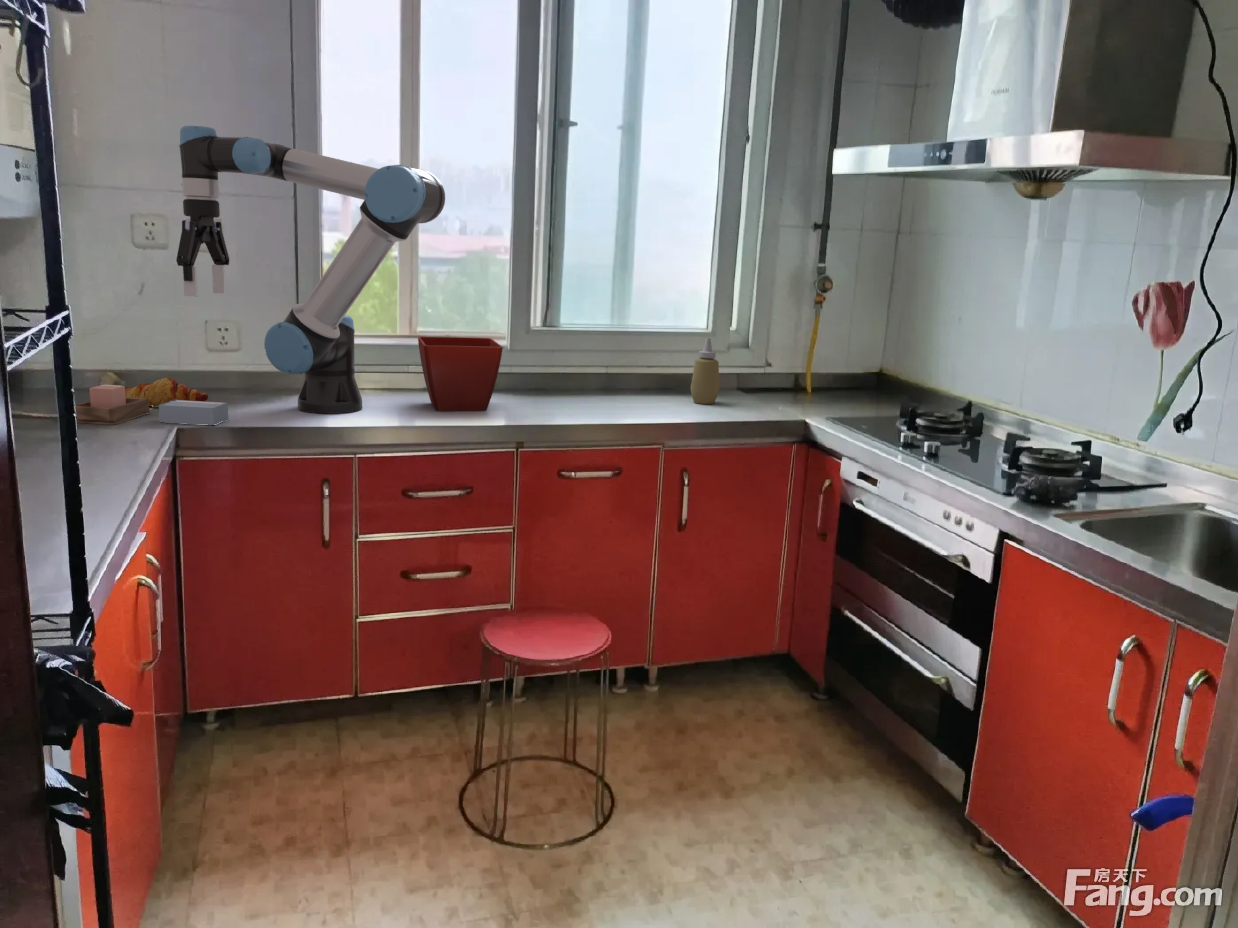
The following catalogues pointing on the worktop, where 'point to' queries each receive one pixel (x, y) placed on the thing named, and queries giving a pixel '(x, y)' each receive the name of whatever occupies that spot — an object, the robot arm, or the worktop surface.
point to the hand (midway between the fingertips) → (205, 294)
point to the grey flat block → (193, 412)
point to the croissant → (164, 392)
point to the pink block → (107, 396)
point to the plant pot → (460, 371)
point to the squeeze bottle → (705, 376)
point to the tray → (112, 412)
